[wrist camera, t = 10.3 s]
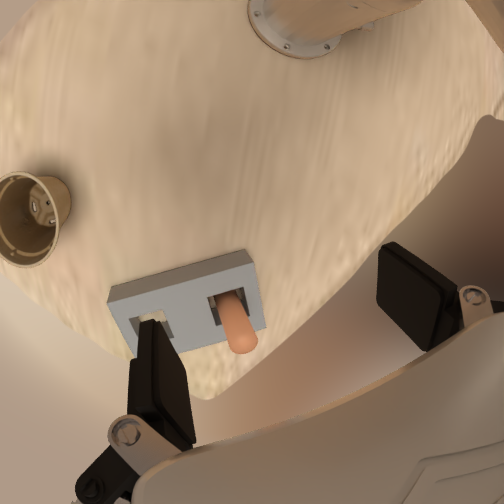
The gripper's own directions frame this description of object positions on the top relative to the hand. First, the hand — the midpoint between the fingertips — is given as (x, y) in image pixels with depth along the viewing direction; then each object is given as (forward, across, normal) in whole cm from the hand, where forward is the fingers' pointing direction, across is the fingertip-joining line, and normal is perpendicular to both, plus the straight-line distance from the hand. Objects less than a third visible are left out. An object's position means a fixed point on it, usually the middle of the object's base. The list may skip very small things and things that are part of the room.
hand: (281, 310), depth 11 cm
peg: (+24, +2, +14) cm, 28 cm away
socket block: (+24, +7, +14) cm, 29 cm away
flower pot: (+24, +19, -4) cm, 31 cm away
